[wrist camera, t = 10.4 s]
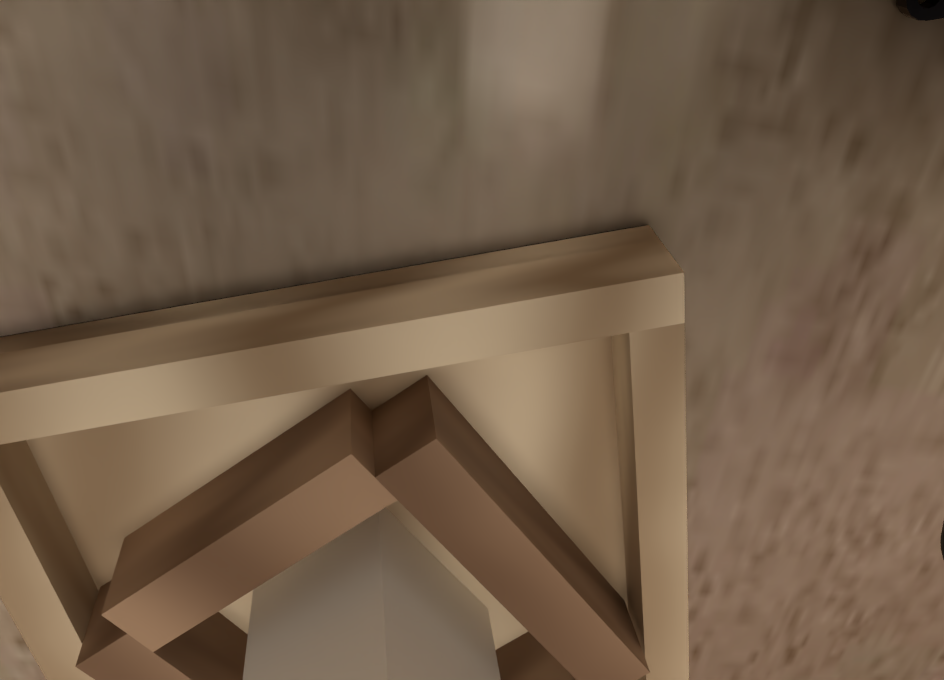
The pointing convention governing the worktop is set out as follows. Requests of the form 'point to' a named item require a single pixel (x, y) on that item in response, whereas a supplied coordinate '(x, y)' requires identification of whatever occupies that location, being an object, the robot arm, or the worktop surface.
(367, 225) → the worktop surface
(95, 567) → the tray
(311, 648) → the white tall post
